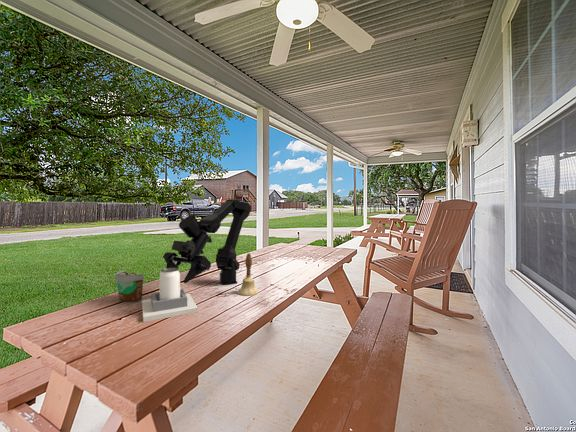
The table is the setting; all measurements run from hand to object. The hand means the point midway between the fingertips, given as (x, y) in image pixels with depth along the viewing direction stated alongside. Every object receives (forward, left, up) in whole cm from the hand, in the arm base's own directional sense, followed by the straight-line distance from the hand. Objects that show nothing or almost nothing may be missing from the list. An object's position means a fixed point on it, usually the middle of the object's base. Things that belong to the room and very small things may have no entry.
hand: (174, 281), depth 97 cm
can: (+2, +2, -7) cm, 8 cm away
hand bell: (-28, -2, -9) cm, 29 cm away
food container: (+15, -15, -9) cm, 23 cm away
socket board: (+2, +1, -9) cm, 9 cm away
